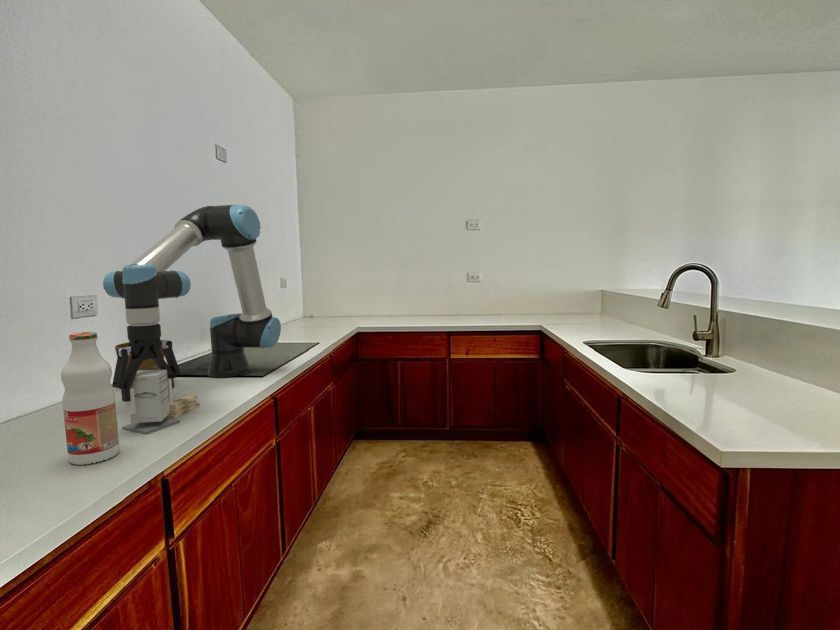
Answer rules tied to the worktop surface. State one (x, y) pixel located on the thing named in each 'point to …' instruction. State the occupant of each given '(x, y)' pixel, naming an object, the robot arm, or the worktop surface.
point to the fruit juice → (89, 403)
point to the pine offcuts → (182, 406)
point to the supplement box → (150, 396)
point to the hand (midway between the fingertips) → (150, 406)
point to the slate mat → (150, 426)
